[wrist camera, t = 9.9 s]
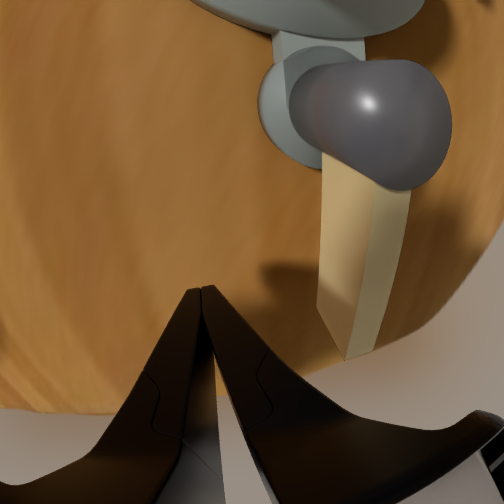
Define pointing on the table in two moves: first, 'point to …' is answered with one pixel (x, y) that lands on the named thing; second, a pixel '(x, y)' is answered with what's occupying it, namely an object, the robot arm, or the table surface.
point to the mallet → (367, 179)
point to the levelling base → (307, 49)
